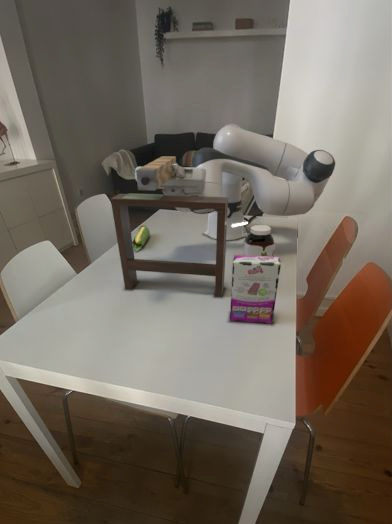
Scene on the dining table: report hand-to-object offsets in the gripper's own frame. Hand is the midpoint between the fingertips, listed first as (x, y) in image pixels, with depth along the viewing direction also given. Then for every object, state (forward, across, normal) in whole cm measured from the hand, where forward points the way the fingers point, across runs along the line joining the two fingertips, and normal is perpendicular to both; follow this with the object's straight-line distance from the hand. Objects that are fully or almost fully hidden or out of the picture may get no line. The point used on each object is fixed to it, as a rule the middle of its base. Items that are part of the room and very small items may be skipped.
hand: (164, 166), depth 83 cm
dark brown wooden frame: (-11, +2, +31) cm, 33 cm away
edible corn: (-43, -20, +13) cm, 49 cm away
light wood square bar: (+4, 0, +5) cm, 6 cm away
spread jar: (-35, +28, +18) cm, 48 cm away
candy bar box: (0, +26, +38) cm, 46 cm away
